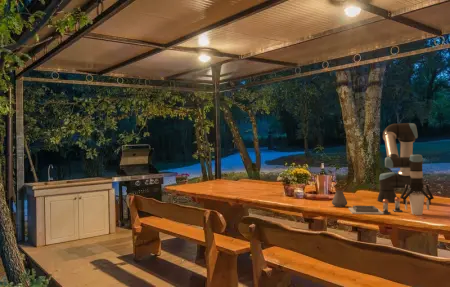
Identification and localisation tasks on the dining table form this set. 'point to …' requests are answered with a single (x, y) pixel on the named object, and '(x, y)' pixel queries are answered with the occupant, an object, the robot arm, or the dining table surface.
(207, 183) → the dining table surface
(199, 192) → the dining table surface
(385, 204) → the pegs
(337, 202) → the coffee pot
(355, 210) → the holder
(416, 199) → the foam cup
